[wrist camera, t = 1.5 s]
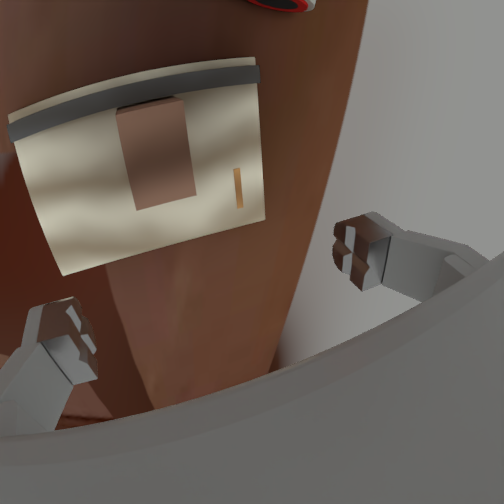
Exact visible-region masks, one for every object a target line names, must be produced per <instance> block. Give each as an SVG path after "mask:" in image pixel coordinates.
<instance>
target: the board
mask: <svg viewBox="0 0 504 504" xmlns="http://www.w3.org/2000/svg"><path fill="white" fill-rule="evenodd" d="M257 83H261V82H260V68H259V65H255V57H245V58H232V59H222V60H212V61H204V62H196V63H189V64H182V65H176V66H170V67H164V68H159V69H154V70H149V71H144V72H139V73H134V74H130V75H126V76H122V77H117V78H114V79H110V80H106V81H102V82H99V83H95V84H91V85H88V86H85V87H81V88H78V89H75V90H72V91H69V92H66V93H63V94H60V95H57V96H54V97H51V98H49V99H46V100H43V101H40V102H38V103H35V104H33V105H30V106H28V107H25V108H23V109H20V110H18V111H16V112H13V113H11V114H9V115H8V119H9V123H10V124H8V125H7V129H8V134H9V138H10V142H11V143H13V142H14V144H15V148H16V152H17V155H18V158H19V162H20V166H21V169H22V172H23V176H24V179H25V182H26V185H27V188H28V191H29V194H30V197H31V200H32V203H33V206H34V208H35V211H36V214H37V216H38V219H39V222H40V224H41V227H42V229H43V232H44V234H45V237H46V239H47V242H48V244H49V246H50V249H51V251H52V253H53V256H54V258H55V260H56V262H57V264H58V267H59V269H60V271H61V273H62V275H63V276H65V275H68V274H71V273H74V272H78V271H81V270H84V269H88V268H91V267H95V266H98V265H101V264H105V263H108V262H112V261H115V260H119V259H122V258H126V257H129V256H133V255H136V254H140V253H143V252H147V251H150V250H154V249H157V248H161V247H165V246H168V245H172V244H175V243H179V242H183V241H186V240H190V239H194V238H197V237H201V236H205V235H209V234H212V233H216V232H220V231H224V230H227V229H231V228H235V227H239V226H243V225H247V224H250V223H254V222H258V221H262V220H265V206H264V188H263V171H262V155H261V138H260V123H259V108H258V93H257ZM169 96H174V97H176V98H179V99H181V100H183V103H184V111H185V119H186V126H187V133H188V141H189V148H190V154H191V161H192V168H193V174H194V181H195V187H196V194H197V195H196V196H192V197H188V198H184V199H180V200H176V201H172V202H168V203H164V204H161V205H157V206H153V207H149V208H146V209H142V210H138V211H136V207H135V203H134V199H133V195H132V191H131V187H130V183H129V179H128V174H127V170H126V166H125V161H124V156H123V152H122V147H121V142H120V137H119V132H118V127H117V122H116V116H115V115H116V111H117V108H120V107H124V106H128V105H132V104H136V103H140V102H145V101H149V100H154V99H159V98H164V97H169Z"/></svg>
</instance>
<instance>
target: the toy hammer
mask: <svg viewBox="0 0 504 504" xmlns="http://www.w3.org/2000/svg"><path fill="white" fill-rule="evenodd" d="M248 1H249V2H251V3H253V4H256V5H259V6H262V7H265V8H269V9H274V10H279V11H286V12H304V11H310V10H312V9H314V6H315V2H316V0H248Z"/></svg>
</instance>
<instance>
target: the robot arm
mask: <svg viewBox="0 0 504 504" xmlns="http://www.w3.org/2000/svg"><path fill="white" fill-rule="evenodd" d="M333 235H334V236H335V237H336V239H337V240H336V242H335V243H334V245H333V248H332V256H333V259H334V263H335V265H336V266H337V268H338V269H339V270H340V271H341V272H342V273H346V274H349V275H350V281H351V282H352V283H353V284H354V285H355V286H357V287H358V288H359V289H360V290H361V291H365V290H367V289H370V288H372V287H375V286H378V285H380V284H382V285H383V286H386V287H388V288H390V289H393V290H395V291H397V292H399V293H402V294H404V295H406V296H409V297H411V298H413V299H416V300H418V301H420V302H422V303H420V304H418V305H417V306H415V307H413V308H411V309H409V310H407V311H406V312H404V313H402V314H400V315H398V316H396V317H394V318H392V319H390V320H388V321H387V322H384V323H383V324H381V325H379V326H377V327H375V328H373V329H370V330H368V331H367V332H364V333H362V334H360V335H358V336H356V337H354V338H352V339H350V340H347V341H345V342H343V343H341V344H339V345H337V346H334V347H332V348H330V349H328V350H325V351H323V352H321V353H318V354H316V355H314V356H312V357H309V358H307V359H305V360H302V361H300V362H297V363H295V364H292V365H290V366H287V367H285V368H282V369H280V370H277V371H274V372H272V373H269V374H267V375H264V376H261V377H259V378H256V379H253V380H250V381H247V382H245V383H242V384H239V385H236V386H233V387H230V388H227V389H224V390H221V391H218V392H215V393H212V394H209V395H206V396H203V397H199V398H196V399H193V400H189V401H186V402H183V403H179V404H176V405H172V406H168V407H165V408H161V409H157V410H154V411H150V412H146V413H142V414H138V415H134V416H129V417H125V418H121V419H116V420H111V421H107V422H102V423H97V424H92V425H86V426H81V427H75V428H69V429H63V430H57V431H54V429H55V427H56V425H57V422H58V420H59V418H60V415H61V413H62V411H63V408H64V406H65V404H66V402H67V399H68V397H69V395H70V393H71V391H72V388H73V386H72V385H76V384H80V383H84V382H87V381H91V380H95V379H98V371H97V360H96V358H95V357H94V355H93V354H94V352H95V351H96V348H97V347H96V339H95V335H94V331H93V328H92V326H91V324H90V322H89V320H88V319H87V318H86V317H84V316H82V307H81V305H80V303H79V301H78V299H77V298H76V297H70V298H66V299H63V300H59V301H55V302H51V303H47V304H45V305H40V306H37V307H34V308H31V309H30V310H29V313H28V317H27V322H26V326H25V330H24V335H23V340H22V345H21V347H20V348H17V349H16V350H15V351H14V353H13V354H12V355H11V357H10V358H9V359H8V361H7V362H6V363H5V364H4V366H3V367H2V368H1V370H0V504H504V252H502V253H501V254H499V255H498V256H497V257H495V258H493V259H492V260H490V261H489V260H488V259H486V258H485V257H483V256H482V255H481V254H479V253H478V252H477V251H475V250H474V249H472V248H471V247H469V246H468V245H465V244H461V243H457V242H453V241H449V240H446V239H441V238H438V237H434V236H429V235H426V234H421V233H417V232H413V231H409V230H408V231H404V230H403V229H401V228H400V227H398V226H396V225H395V224H394V223H392V222H390V221H389V220H387V219H386V218H384V217H383V216H381V215H380V214H378V213H377V212H369V213H366V214H363V215H360V216H357V217H354V218H350V219H347V220H343V221H340V222H337V223H336V224H335V226H334V234H333Z"/></svg>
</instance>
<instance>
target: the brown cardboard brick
mask: <svg viewBox="0 0 504 504" xmlns="http://www.w3.org/2000/svg"><path fill="white" fill-rule="evenodd" d="M115 116H116V122H117V127H118V132H119V137H120V142H121V147H122V152H123V156H124V161H125V166H126V170H127V174H128V179H129V183H130V187H131V191H132V195H133V199H134V203H135V207H136V211H138V210H142V209H146V208H149V207H153V206H157V205H161V204H164V203H168V202H172V201H176V200H180V199H184V198H188V197H192V196H196V195H197V194H196V187H195V181H194V174H193V168H192V161H191V154H190V148H189V141H188V133H187V126H186V119H185V111H184V103H183V100H181V99H179V98H176V97H174V96H169V97H164V98H159V99H154V100H149V101H145V102H140V103H136V104H132V105H128V106H124V107H120V108H117V111H116V115H115Z"/></svg>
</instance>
